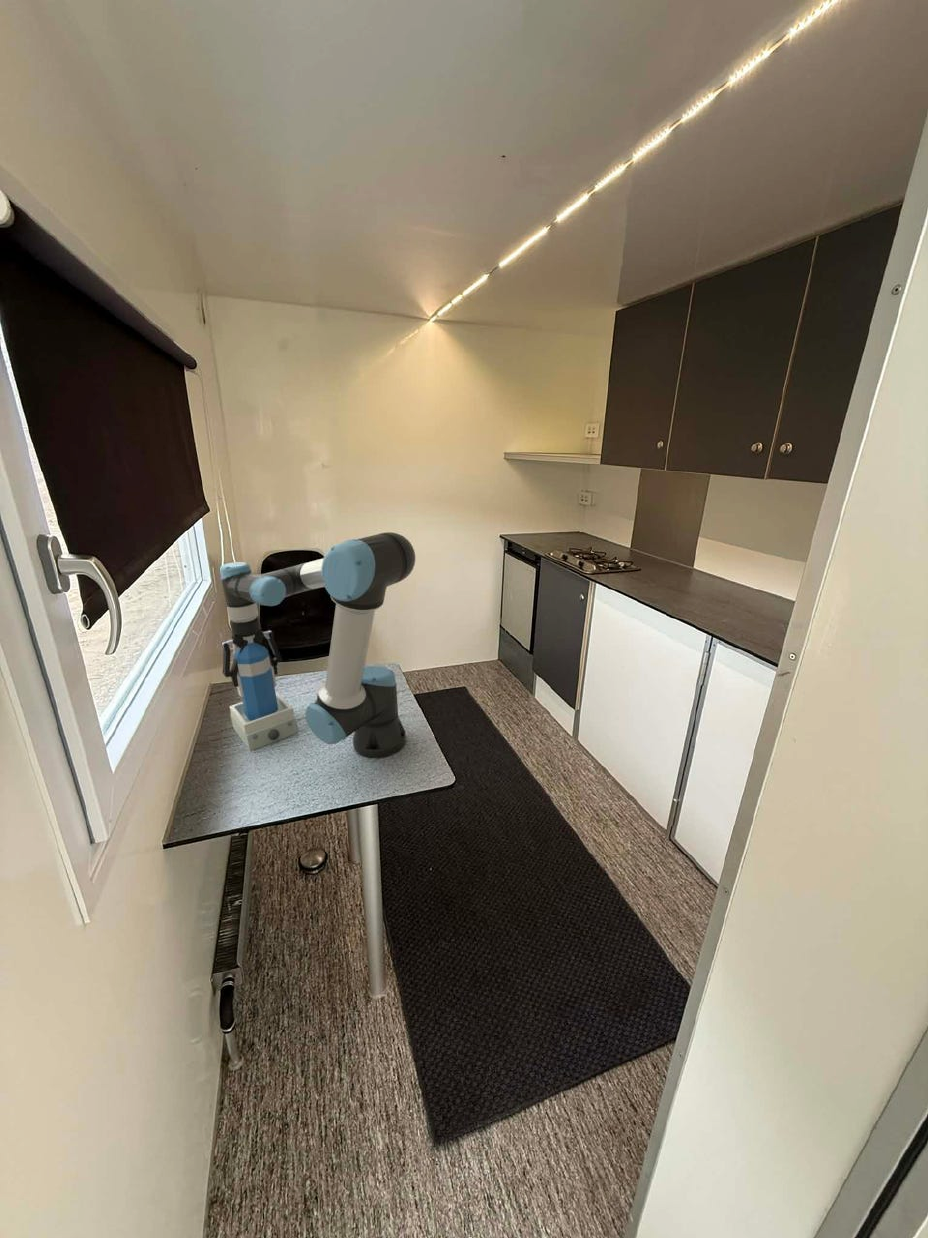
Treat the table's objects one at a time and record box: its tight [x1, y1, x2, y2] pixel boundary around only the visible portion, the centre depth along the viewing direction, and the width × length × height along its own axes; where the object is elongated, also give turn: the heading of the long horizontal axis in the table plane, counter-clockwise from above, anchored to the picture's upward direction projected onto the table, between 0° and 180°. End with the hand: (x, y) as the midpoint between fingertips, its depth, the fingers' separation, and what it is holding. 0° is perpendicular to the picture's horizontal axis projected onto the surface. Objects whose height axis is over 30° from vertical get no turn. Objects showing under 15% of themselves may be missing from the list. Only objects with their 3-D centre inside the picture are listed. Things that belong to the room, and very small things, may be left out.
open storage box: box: [229, 690, 299, 752], centre depth 144 cm, size 17×14×8 cm
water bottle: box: [232, 634, 278, 720], centre depth 139 cm, size 9×9×25 cm
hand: (257, 689), depth 140 cm, fingers closed on water bottle, 9 cm apart
